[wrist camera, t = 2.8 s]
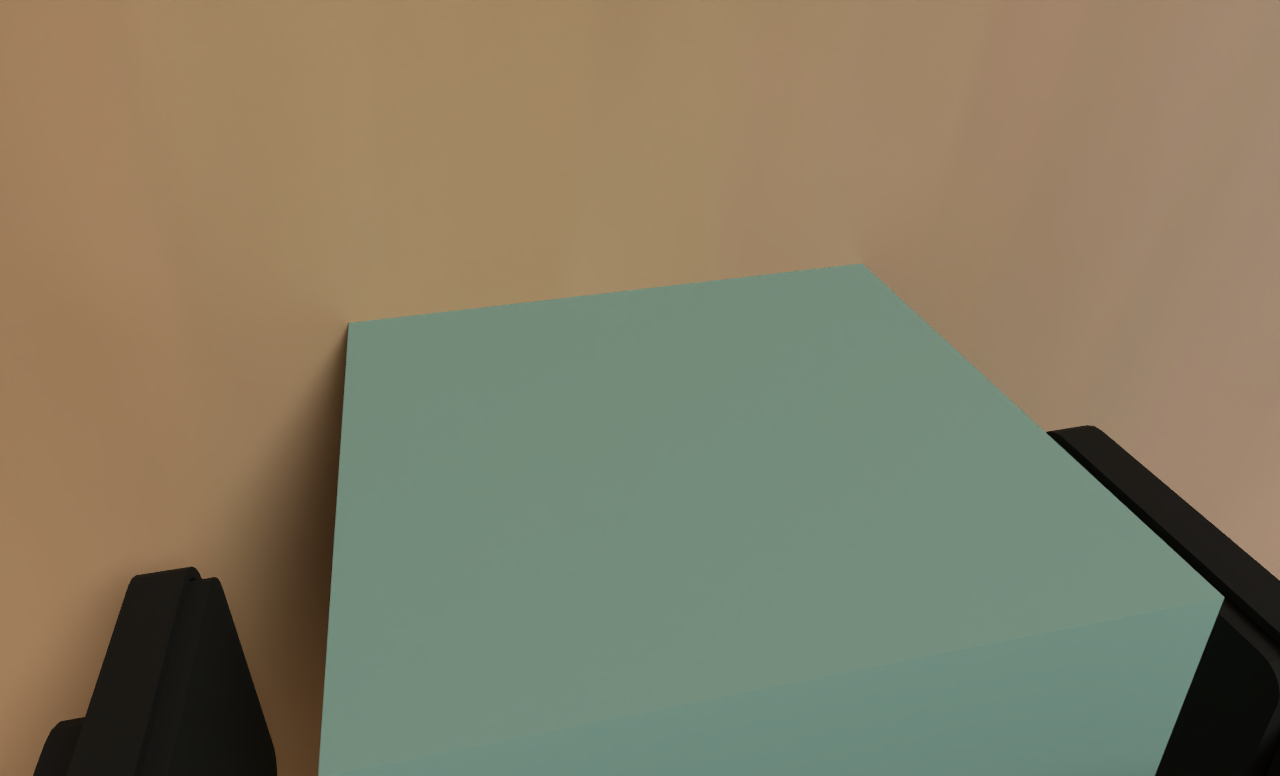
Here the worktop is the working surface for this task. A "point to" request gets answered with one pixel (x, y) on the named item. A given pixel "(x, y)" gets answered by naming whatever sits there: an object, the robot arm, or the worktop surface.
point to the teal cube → (731, 551)
